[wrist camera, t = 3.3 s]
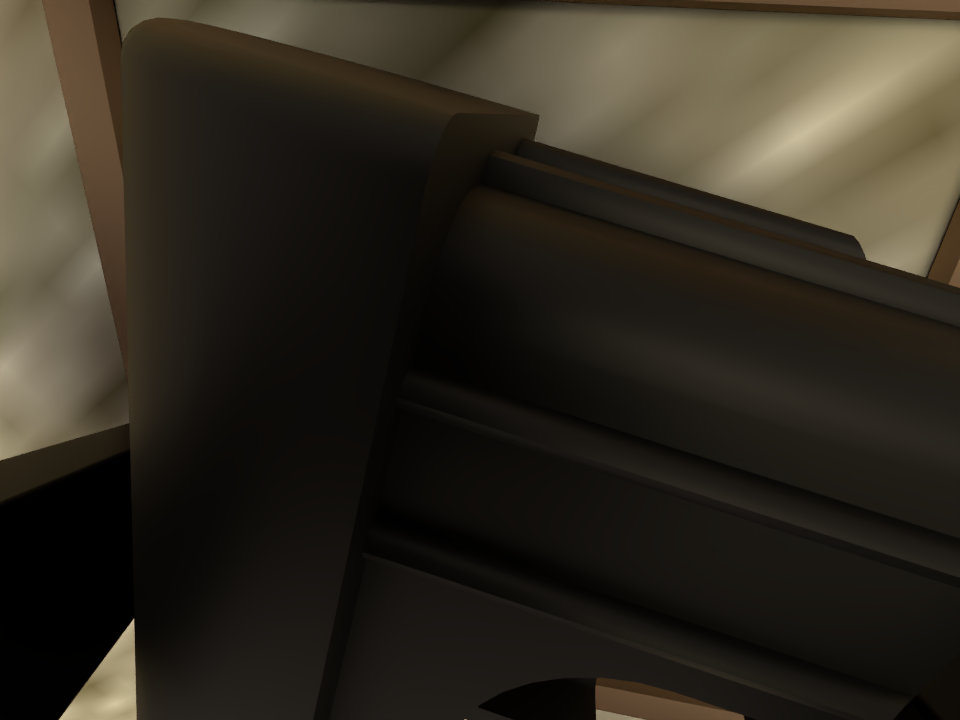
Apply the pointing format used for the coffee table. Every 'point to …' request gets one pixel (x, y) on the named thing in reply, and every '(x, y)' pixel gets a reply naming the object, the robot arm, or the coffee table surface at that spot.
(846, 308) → the end cap
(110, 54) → the walnut seat frame
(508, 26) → the coffee table surface
